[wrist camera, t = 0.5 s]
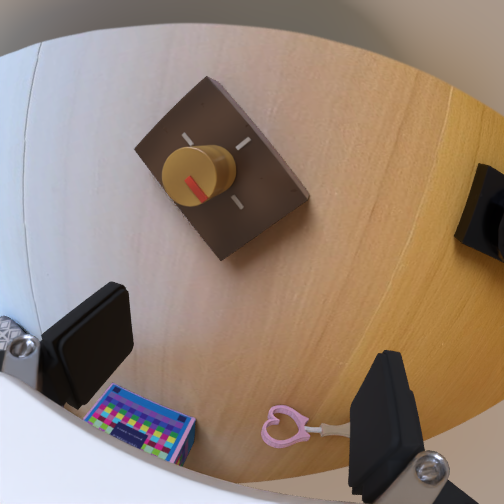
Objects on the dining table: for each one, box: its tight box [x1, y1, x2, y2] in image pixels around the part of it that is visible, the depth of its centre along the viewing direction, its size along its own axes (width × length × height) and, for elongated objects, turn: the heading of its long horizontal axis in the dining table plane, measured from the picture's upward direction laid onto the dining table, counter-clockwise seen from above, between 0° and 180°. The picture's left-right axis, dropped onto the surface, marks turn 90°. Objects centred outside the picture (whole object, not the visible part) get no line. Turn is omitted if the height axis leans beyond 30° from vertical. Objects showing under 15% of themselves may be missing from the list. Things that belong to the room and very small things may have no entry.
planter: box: [0, 316, 25, 351], centre depth 45 cm, size 19×19×16 cm
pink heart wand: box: [261, 405, 350, 448], centre depth 35 cm, size 7×1×20 cm
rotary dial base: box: [134, 76, 309, 261], centre depth 26 cm, size 14×10×3 cm
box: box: [82, 383, 196, 466], centre depth 38 cm, size 17×9×20 cm, turn 80°
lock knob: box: [162, 145, 236, 207], centre depth 23 cm, size 4×4×5 cm
